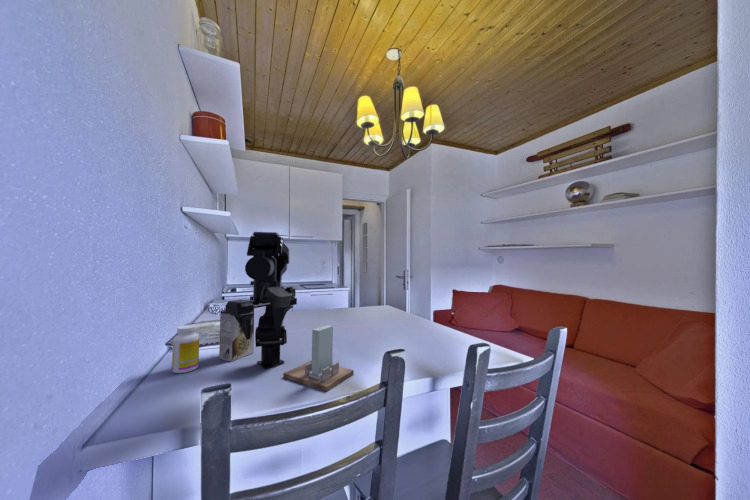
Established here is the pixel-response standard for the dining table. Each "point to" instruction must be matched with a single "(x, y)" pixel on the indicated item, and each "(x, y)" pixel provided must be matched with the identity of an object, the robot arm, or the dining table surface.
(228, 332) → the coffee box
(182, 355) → the supplement bottle
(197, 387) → the dining table surface
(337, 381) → the hinge base
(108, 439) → the dining table surface
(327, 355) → the pale green pillar
